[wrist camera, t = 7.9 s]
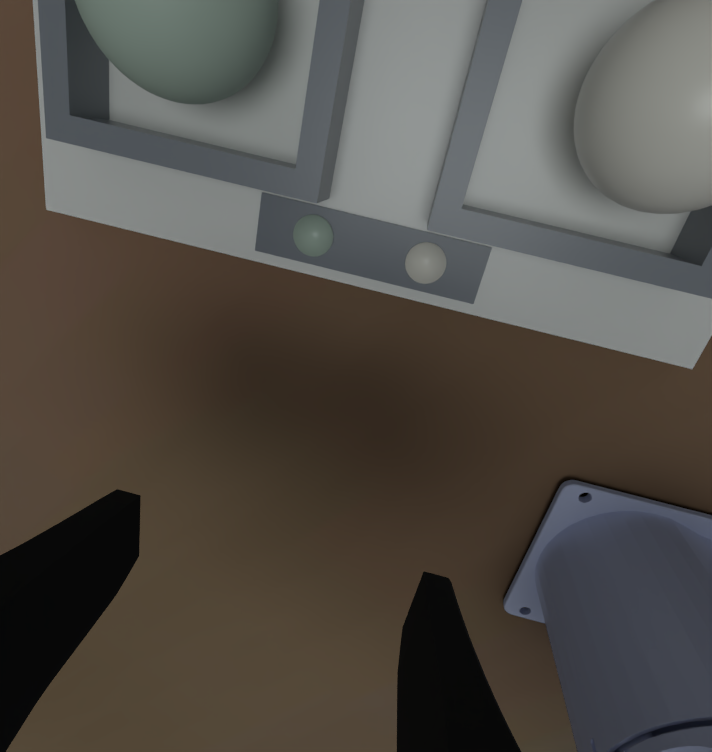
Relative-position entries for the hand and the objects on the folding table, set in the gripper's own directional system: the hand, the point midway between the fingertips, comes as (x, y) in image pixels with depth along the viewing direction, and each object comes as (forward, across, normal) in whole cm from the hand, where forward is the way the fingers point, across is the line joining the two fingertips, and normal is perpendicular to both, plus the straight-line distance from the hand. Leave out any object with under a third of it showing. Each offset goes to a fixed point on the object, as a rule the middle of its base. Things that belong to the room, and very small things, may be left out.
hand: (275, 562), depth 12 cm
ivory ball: (+6, -7, -12) cm, 15 cm away
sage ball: (+6, +6, -12) cm, 15 cm away
